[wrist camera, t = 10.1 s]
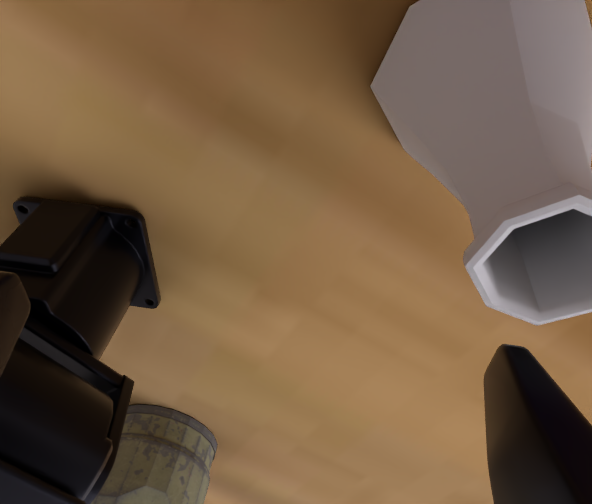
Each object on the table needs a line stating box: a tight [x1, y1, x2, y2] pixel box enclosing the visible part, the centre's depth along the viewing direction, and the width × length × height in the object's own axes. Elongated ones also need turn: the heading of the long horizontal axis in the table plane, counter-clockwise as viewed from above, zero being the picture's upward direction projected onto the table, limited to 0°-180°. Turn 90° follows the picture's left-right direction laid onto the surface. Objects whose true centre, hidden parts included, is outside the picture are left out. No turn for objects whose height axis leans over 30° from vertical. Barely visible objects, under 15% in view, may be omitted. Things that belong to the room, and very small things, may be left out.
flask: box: [370, 0, 592, 325], centre depth 13 cm, size 7×7×10 cm
